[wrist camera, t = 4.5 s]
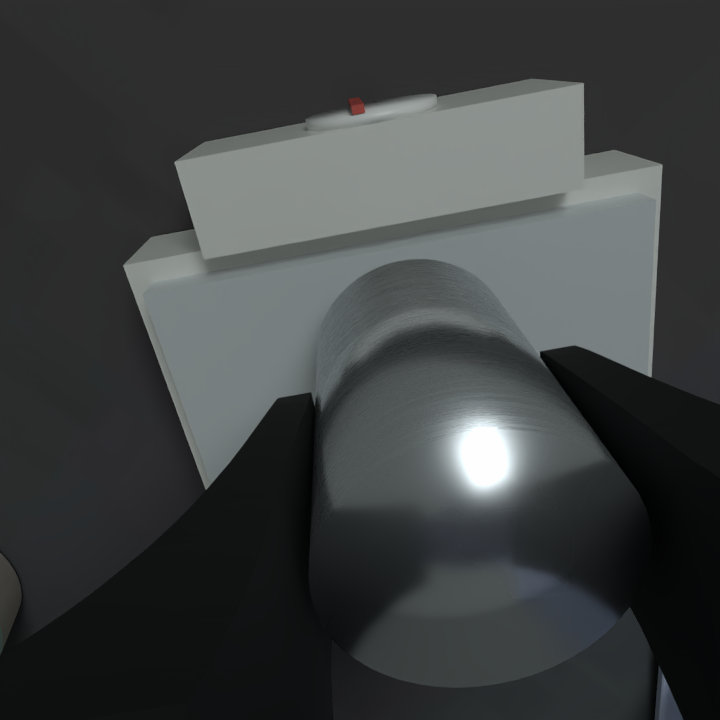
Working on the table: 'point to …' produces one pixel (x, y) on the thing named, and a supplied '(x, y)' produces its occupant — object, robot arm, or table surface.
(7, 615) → the coffee cup
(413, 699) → the table surface
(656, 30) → the table surface
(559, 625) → the cylinder
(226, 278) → the grey flat ridged box
